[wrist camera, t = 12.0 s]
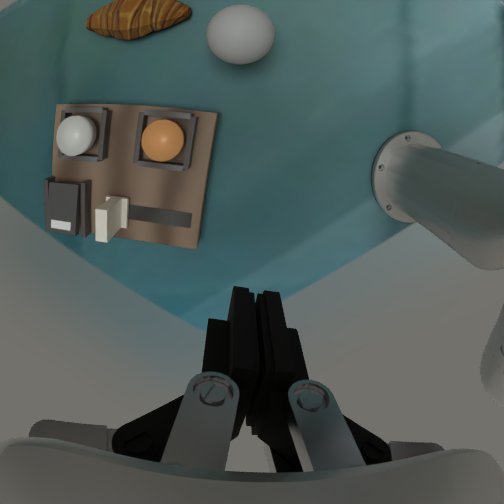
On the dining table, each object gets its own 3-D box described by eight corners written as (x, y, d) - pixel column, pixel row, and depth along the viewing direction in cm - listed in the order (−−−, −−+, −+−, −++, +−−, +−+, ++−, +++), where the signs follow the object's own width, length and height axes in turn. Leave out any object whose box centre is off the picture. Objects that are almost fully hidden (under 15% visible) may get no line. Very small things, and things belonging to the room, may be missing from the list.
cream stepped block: (129, 197, 33) (113, 211, 28) (127, 226, 34) (112, 243, 30) (107, 195, 32) (89, 208, 28) (107, 223, 34) (90, 239, 29)
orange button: (188, 121, 29) (185, 121, 28) (182, 161, 31) (179, 163, 30) (149, 117, 29) (144, 118, 27) (144, 156, 31) (139, 159, 29)
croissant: (87, 50, 27) (68, 44, 23) (94, 5, 25) (77, -5, 20) (189, 40, 28) (181, 29, 24) (196, -7, 26) (190, -22, 21)
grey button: (98, 115, 27) (91, 116, 25) (94, 154, 29) (87, 157, 27) (66, 115, 27) (58, 116, 25) (63, 152, 28) (55, 155, 27)
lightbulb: (240, 85, 31) (239, 71, 21) (202, 52, 29) (187, 27, 19) (278, 52, 29) (294, 27, 19) (240, 19, 27) (241, -17, 17)
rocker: (82, 184, 31) (78, 185, 30) (78, 233, 33) (74, 235, 32) (53, 181, 31) (49, 182, 30) (51, 229, 32) (46, 230, 31)
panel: (218, 113, 32) (215, 113, 28) (199, 239, 39) (194, 255, 35) (68, 104, 30) (48, 104, 26) (63, 218, 37) (46, 231, 32)
